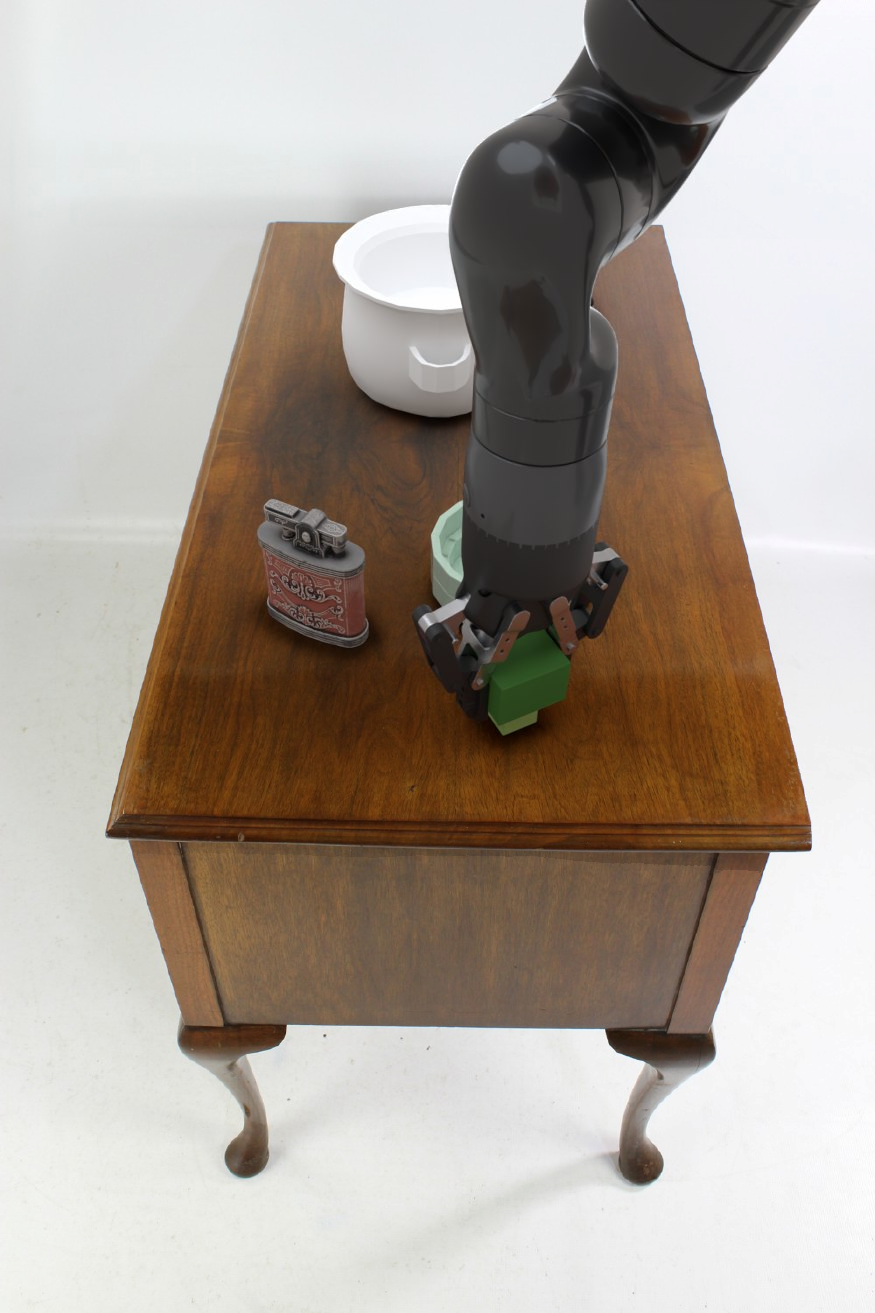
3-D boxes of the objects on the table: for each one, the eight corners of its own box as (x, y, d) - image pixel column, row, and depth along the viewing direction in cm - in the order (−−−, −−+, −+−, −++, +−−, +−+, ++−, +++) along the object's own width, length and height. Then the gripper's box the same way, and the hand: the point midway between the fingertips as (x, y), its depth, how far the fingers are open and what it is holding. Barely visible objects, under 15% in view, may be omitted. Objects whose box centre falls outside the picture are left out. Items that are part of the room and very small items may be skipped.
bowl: (531, 520, 85) (536, 475, 82) (609, 609, 79) (618, 564, 75) (405, 563, 82) (405, 518, 78) (476, 660, 75) (479, 615, 72)
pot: (347, 315, 106) (340, 192, 97) (520, 317, 106) (530, 195, 97) (334, 449, 91) (325, 320, 82) (536, 451, 91) (549, 322, 82)
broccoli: (523, 677, 74) (530, 611, 69) (561, 728, 71) (571, 662, 66) (459, 703, 72) (462, 637, 68) (496, 755, 69) (501, 690, 65)
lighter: (377, 625, 77) (373, 518, 70) (353, 655, 75) (346, 549, 68) (284, 587, 80) (271, 481, 72) (258, 616, 78) (242, 509, 70)
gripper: (447, 578, 53) (442, 779, 66) (681, 496, 58) (634, 699, 70) (383, 493, 58) (389, 696, 70) (604, 423, 62) (573, 626, 75)
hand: (512, 696), depth 70 cm, fingers closed on broccoli, 5 cm apart
